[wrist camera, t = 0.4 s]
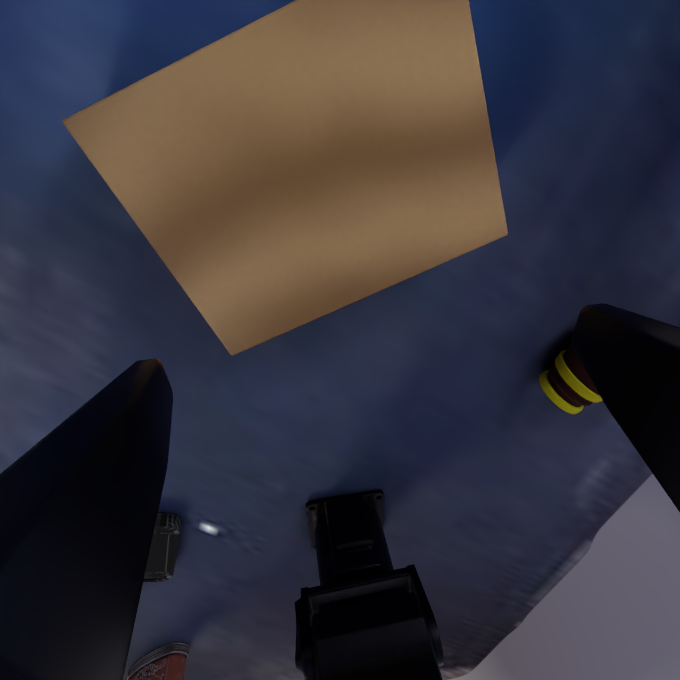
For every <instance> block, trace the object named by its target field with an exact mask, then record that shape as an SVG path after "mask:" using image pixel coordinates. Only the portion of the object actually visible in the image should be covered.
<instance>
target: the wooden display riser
mask: <svg viewBox="0 0 680 680" xmlns="http://www.w3.org/2000/svg"><path fill="white" fill-rule="evenodd" d="M62 122H63V124H64V125H65V127H66V128H67V129H68V131H69V132H70V133H71V135H72V136H73V138H74V139H75V140H76V142H77V143H78V145H79V146H80V147H81V149H82V150H83V151H84V153H85V154H86V156H87V157H88V158H89V160H90V161H91V162H92V164H93V165H94V167H95V168H96V169H97V171H98V172H99V174H100V175H101V176H102V178H103V179H104V180H105V182H106V183H107V185H108V186H109V187H110V189H111V190H112V191H113V193H114V194H115V196H116V197H117V198H118V200H119V201H120V202H121V204H122V205H123V207H124V208H125V209H126V211H127V212H128V214H129V215H130V216H131V218H132V219H133V220H134V222H135V223H136V225H137V226H138V227H139V229H140V230H141V231H142V233H143V234H144V236H145V237H146V238H147V240H148V241H149V243H150V244H151V245H152V247H153V248H154V249H155V251H156V252H157V254H158V255H159V256H160V258H161V259H162V260H163V262H164V263H165V265H166V266H167V267H168V269H169V270H170V272H171V273H172V274H173V276H174V277H175V278H176V280H177V281H178V283H179V284H180V285H181V287H182V288H183V289H184V291H185V292H186V294H187V295H188V296H189V298H190V299H191V301H192V302H193V303H194V305H195V306H196V307H197V309H198V310H199V312H200V313H201V314H202V316H203V317H204V318H205V320H206V321H207V323H208V324H209V325H210V327H211V328H212V330H213V331H214V332H215V334H216V335H217V336H218V338H219V339H220V341H221V342H222V343H223V345H224V346H225V347H226V349H227V350H228V352H229V353H230V354H231V355H232V356H233V355H235V354H238V353H240V352H242V351H244V350H247V349H249V348H251V347H253V346H256V345H258V344H260V343H263V342H265V341H267V340H269V339H272V338H274V337H276V336H278V335H281V334H283V333H285V332H288V331H290V330H292V329H294V328H297V327H299V326H301V325H304V324H306V323H308V322H310V321H313V320H315V319H317V318H319V317H322V316H324V315H326V314H329V313H331V312H333V311H335V310H338V309H340V308H342V307H344V306H347V305H349V304H351V303H354V302H356V301H358V300H360V299H363V298H365V297H367V296H369V295H372V294H374V293H376V292H379V291H381V290H383V289H385V288H388V287H390V286H392V285H395V284H397V283H399V282H401V281H404V280H406V279H408V278H410V277H413V276H415V275H417V274H420V273H422V272H424V271H426V270H429V269H431V268H433V267H435V266H438V265H440V264H442V263H445V262H447V261H449V260H451V259H454V258H456V257H458V256H461V255H463V254H465V253H467V252H470V251H472V250H474V249H476V248H479V247H481V246H483V245H486V244H488V243H490V242H492V241H495V240H497V239H499V238H501V237H504V236H506V235H508V231H507V225H506V219H505V213H504V207H503V201H502V195H501V189H500V183H499V178H498V172H497V166H496V160H495V154H494V148H493V142H492V136H491V130H490V124H489V118H488V112H487V106H486V100H485V94H484V88H483V82H482V76H481V71H480V65H479V59H478V53H477V47H476V41H475V35H474V29H473V23H472V17H471V11H470V5H469V0H295V1H293V2H291V3H289V4H287V5H285V6H283V7H281V8H279V9H277V10H275V11H273V12H272V13H270V14H268V15H266V16H264V17H262V18H260V19H258V20H256V21H254V22H252V23H250V24H248V25H246V26H244V27H242V28H240V29H238V30H237V31H235V32H233V33H231V34H229V35H227V36H225V37H223V38H221V39H219V40H217V41H215V42H213V43H211V44H209V45H207V46H205V47H203V48H201V49H200V50H198V51H196V52H194V53H192V54H190V55H188V56H186V57H184V58H182V59H180V60H178V61H176V62H174V63H172V64H170V65H168V66H166V67H165V68H163V69H161V70H159V71H157V72H155V73H153V74H151V75H149V76H147V77H145V78H143V79H141V80H139V81H137V82H135V83H133V84H131V85H130V86H128V87H126V88H124V89H122V90H120V91H118V92H116V93H114V94H112V95H110V96H108V97H106V98H104V99H102V100H100V101H98V102H96V103H94V104H93V105H91V106H89V107H87V108H85V109H83V110H81V111H79V112H77V113H75V114H73V115H71V116H69V117H67V118H65V119H63V121H62Z"/></svg>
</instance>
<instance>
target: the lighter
mask: <svg viewBox="0 0 680 680" xmlns="http://www.w3.org/2000/svg"><path fill="white" fill-rule="evenodd" d="M188 654H189V646H188V645H187V644H184V643H171V644H168V645H166V646H163V647H161V648H159V649H157V650H155V651H153V652H151V653H149V654H148V655H146V656H144V657H143V658H141V659H140V660H139V661H137V662H136V663H135V664H134V665H133V666H132V667H131V668H130V669H129V672H128V677H127V680H184V672H185V663H186V659H187V658H188Z"/></svg>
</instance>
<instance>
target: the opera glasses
mask: <svg viewBox="0 0 680 680" xmlns="http://www.w3.org/2000/svg"><path fill="white" fill-rule="evenodd" d="M539 383H540V385H541V387H542V389H543V391H544V392H545V393H546V395H547V396H548V397H549V398H550V399H551V401H552V402H554V403H555V404H556V405H557V406H558V407H559V408H561V409H562V410H564V411H566V412H567V413H570V414H577V413H579V412H580V411H581V410H582V409H583V405H584V406H589V405H591V404H592V402H596V403H597V402H600V401H603V400H602V398H601V397H600V395H599V393H598V391H597V389H596V388H595V386H594V384H593V382H592V380H591V379H590V377H589V375H588V373H587V371H586V369H585V368H584V366H583V364H582V362H581V360H580V358H579V357H578V355H577V353H576V351H575V349H574V347H573V344H571V345H570V346H569V347H568V349H567V350H563V351H561V352H560V354H559V355H558V356H557V358H556V359H555V364H552V365H551V366H550V370H546V371H544V372H543V373H541V374H540V376H539Z"/></svg>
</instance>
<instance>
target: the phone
mask: <svg viewBox="0 0 680 680" xmlns="http://www.w3.org/2000/svg"><path fill="white" fill-rule="evenodd" d="M181 525H182V520H181V518H180V517H178V516H177V515H174V514H170V513H158V514H157V518H156V523H155V528H154V533H153V537H152V542H151V547H150V552H149V556H148V561H147V566H146V571H145V575H144V580H143V582H162V581H166V580H168V579H170V578H171V577H172V576H173V572H174V567H175V561H176V555H177V549H178V543H179V538H180V531H181Z"/></svg>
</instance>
